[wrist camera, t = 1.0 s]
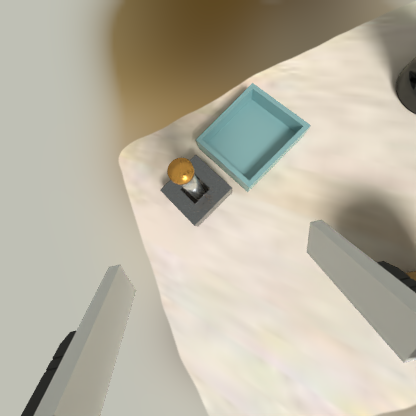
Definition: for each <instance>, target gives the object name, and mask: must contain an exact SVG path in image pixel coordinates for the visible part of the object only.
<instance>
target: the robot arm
mask: <svg viewBox="0 0 416 416" xmlns="http://www.w3.org/2000/svg"><path fill="white" fill-rule="evenodd" d="M397 93H398V96H399V98H400V100H401V101H402V103H403V104H404V105H405V106H406V107H407V108H408V109H409V110H411V111H412V112H414V113H416V58H415V59H414V60H413V61H412V62H411V63H410V64H408V65H407V66H406V67H405V68H404V69H403V71H402V72H401V73H400V75H399V77H398V80H397ZM307 253H308V254H309V255H310V256H311V258H312V259H313V260H314V261H315V262H316V263H317V264H318V266H319V267H320V268H321V269H322V270H323V271H324V272H325V273H326V275H327V276H328V277H329V278H330V279H331V280H332V281H333V283H334V284H335V285H336V286H337V287H338V288H339V289H340V291H341V292H342V293H343V294H344V295H345V296H346V297H347V299H348V300H349V301H350V302H351V303H352V304H353V305H354V307H355V308H356V309H357V310H358V311H359V312H360V313H361V315H362V316H363V317H364V318H365V319H366V320H367V321H368V323H369V324H370V325H371V326H372V327H373V328H374V329H375V331H376V332H377V333H378V334H379V335H380V336H381V337H382V339H383V340H384V341H385V342H386V343H387V344H388V345H389V346H390V348H391V349H392V350H393V351H394V352H395V353H396V354H397V356H398V357H399V358H400V359H401V360H402V361H403V362H409V361H413V360H416V281H415V280H414V279H411V278H410V276H408V275H407V274H406V273H404V272H403V271H401V270H400V269H399V268H397V267H395V266H393V265H391V264H389V263H386V262H384V261H381V262H377V263H376V262H375V261H374V260H373V259H371V258H370V257H369V256H367V255H366V254H365V253H364V252H362V251H361V250H360V249H358V248H357V247H356V246H355V245H353V244H352V243H351V242H349V241H348V240H347V239H346V238H344V237H343V236H342V235H340V234H339V233H338V232H337V231H335V230H334V229H333V228H331V227H330V226H329V225H328V224H326V223H325V222H324V221H322V220H318V221H314V222H310V229H309V237H308V245H307ZM135 292H136V289H135V288H134V286H133V285H132V283H131V282H130V280H129V278H128V277H127V275H126V273H125V272H124V270H123V269H122V267H121V265H116V266H112V267H109V268H108V270H107V272H106V274H105V276H104V278H103V280H102V282H101V284H100V286H99V288H98V290H97V292H96V294H95V296H94V298H93V300H92V302H91V304H90V306H89V307H88V309H87V311H86V313H85V315H84V317H83V319H82V322H81V323H80V325H79V327H78V329H77V331H73V332H70V333H69V334H68V336H67V337H66V338H65V339H64V340H63V342H62V343H61V344H60V346H59V348H58V349H57V351H56V353H55V355H54V356H53V360H52V361H51V362H50V364H49V366H48V368H47V369H46V370H47V371H46V372H45V373H44V375H43V377H42V378H41V380H40V382H39V384H38V386H37V387H36V389H35V391H34V393H33V395H32V397H31V398H30V400H29V402H28V404H27V406H26V408H25V409H24V411H23V413H22V415H21V416H100V415H101V411H102V408H103V404H104V401H105V397H106V393H107V390H108V387H109V383H110V380H111V376H112V373H113V369H114V366H115V362H116V359H117V355H118V352H119V348H120V345H121V341H122V338H123V334H124V331H125V327H126V324H127V320H128V317H129V313H130V310H131V306H132V303H133V299H134V296H135Z"/></svg>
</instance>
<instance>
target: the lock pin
mask: <svg viewBox="0 0 416 416" xmlns="http://www.w3.org/2000/svg"><path fill="white" fill-rule="evenodd" d="M167 172H168V176H169V178H170V179H171V180H172V181H173V182H174V183H175V184H178V185H182V186H183V187H184V188H185V189H186V190H187V191H188V192H189V193H190V194H191V195H192V196H193V197H194V198H195V199H197V200H199V199H200V198H201V197H202V196H203V195H204V194H205V191H204V189H203V188H202V186H201V184H200V183H199V181H198V179H197V178H196V176H195V175H194V173H195V170H194V167H193V165H192V163H191V162H190V161H189V160H188V159H186V158H177V159H175V160H173V161H172V162H171V163H170V164H169V166H168V171H167Z"/></svg>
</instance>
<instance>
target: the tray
mask: <svg viewBox="0 0 416 416" xmlns="http://www.w3.org/2000/svg"><path fill="white" fill-rule="evenodd" d="M310 126H311V125H310V124H308V123H307V122H305V121H304V120H303V119H301V118H300V117H298V116H297V115H296V114H294V113H293V112H292V111H290V110H289V109H287V108H286V107H285V106H283V105H282V104H281V103H279V102H278V101H276V100H275V99H274V98H272V97H271V96H270V95H268V94H267V93H265V92H264V91H263V90H261V89H260V88H259V87H257V86H256V85H254V84H253V83H252V84H251V85H250V86H249V87H248V88H247V89H246V90H245V91H244V92H243V93H242V94H241V95H240V96H239V97H238V98H237V99H236V100H235V101H234V102H233V103H232V104H231V105H230V106H229V107H228V108H227V109H226V110H225V111H224V112H223V113H222V114H221V115H220V116H219V117H218V118H217V119H216V120H215V121H214V122H213V123H212V124H211V125H210V126H209V127H208V128H207V129H206V130H205V131H204V132H203V133H202V134H201V135H200V136H199V137H198V138H197V139H196V141H197V144H198V146H199V149H200V150H202V151H203V152H204V153H205V154H206V155H207V156H208V157H209V158H210V159H212V160H213V161H214V162H215V163H216V164H217V165H218V166H219V167H220V168H221V169H223V170H224V171H225V172H226V173H227V174H228V175H229V176H230V177H231V178H233V179H234V180H235V181H236V182H237V183H238V184H239V185H240V186H241V187H243V188H244V189H245V190H246V191H247V192H248V191H249V190H250V189H251V188H252V187H253V186H254V185H255V184H256V183H257V182H258V181H259V180H260V179H261V178H262V177H263V176H264V175H265V174H266V173H267V172H268V171H269V170H270V169H271V168H272V167H273V166H274V165H275V164H276V163H277V162H278V161H279V160H280V159H281V158H282V157H283V156H284V155H285V154H286V153H287V152H288V151H289V150H290V149H291V148H292V147H293V146H294V145H295V144H296V143H297V142H298V141H299V140H300V139H301V138H302V137H303V136H304V134H305V133H306V131H307V130H308V129H309V127H310Z"/></svg>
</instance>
